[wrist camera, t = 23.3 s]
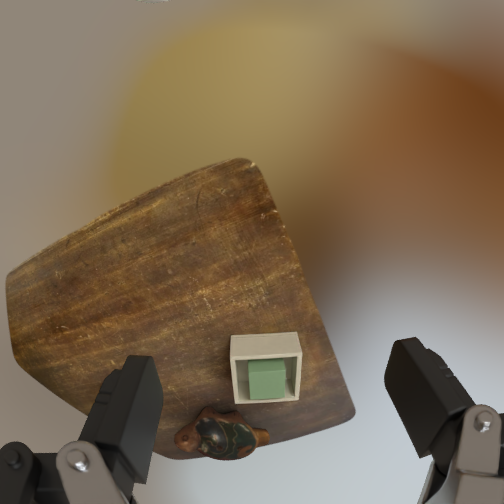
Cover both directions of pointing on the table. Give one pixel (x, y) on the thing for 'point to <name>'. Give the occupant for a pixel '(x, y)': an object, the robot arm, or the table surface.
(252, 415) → the table surface
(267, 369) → the green box
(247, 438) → the decorative turtle
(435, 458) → the robot arm
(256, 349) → the open square box
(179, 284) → the table surface
